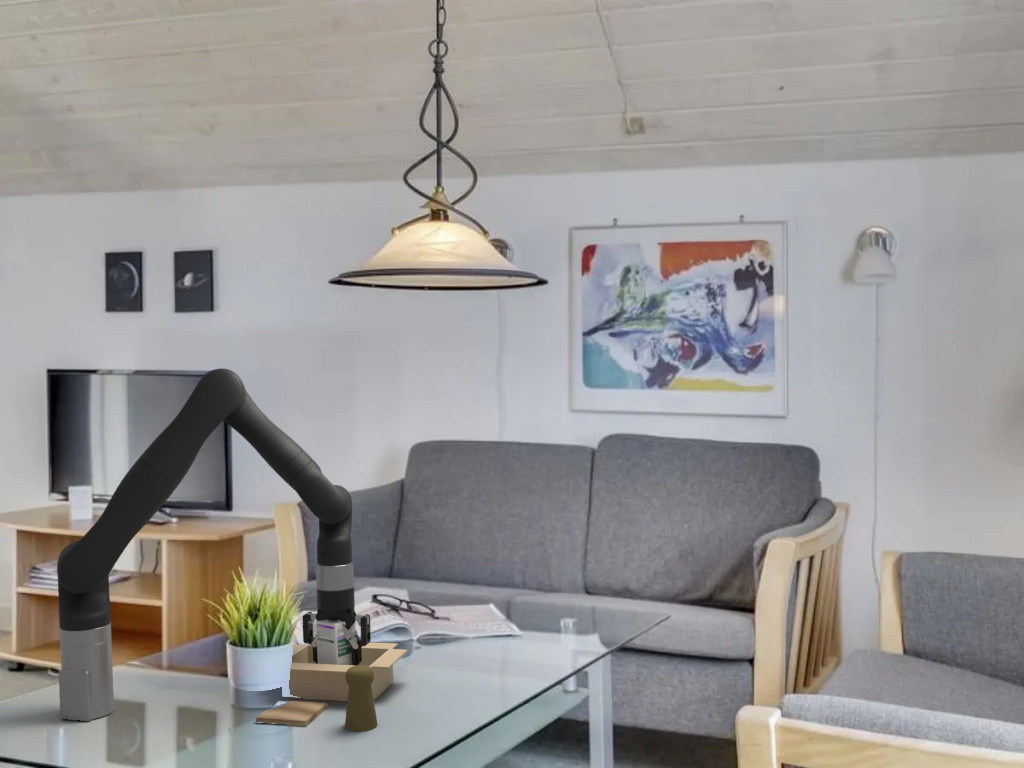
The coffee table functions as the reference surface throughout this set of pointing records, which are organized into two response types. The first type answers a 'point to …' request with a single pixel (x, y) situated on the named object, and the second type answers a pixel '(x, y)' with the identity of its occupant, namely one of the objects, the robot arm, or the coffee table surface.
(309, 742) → the coffee table surface
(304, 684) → the carton
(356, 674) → the pepper shaker
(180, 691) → the coffee table surface
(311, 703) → the coaster
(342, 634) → the syrup box
